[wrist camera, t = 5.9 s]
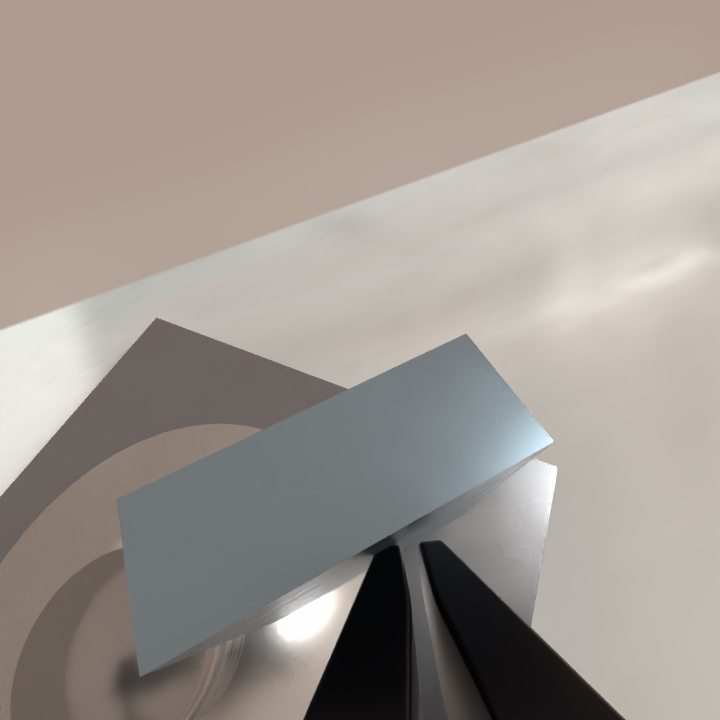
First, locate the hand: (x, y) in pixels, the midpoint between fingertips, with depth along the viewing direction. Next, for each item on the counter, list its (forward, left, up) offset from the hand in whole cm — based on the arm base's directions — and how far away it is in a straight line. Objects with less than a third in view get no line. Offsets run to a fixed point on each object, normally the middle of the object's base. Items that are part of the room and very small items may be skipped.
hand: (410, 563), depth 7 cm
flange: (-3, +4, -5) cm, 7 cm away
